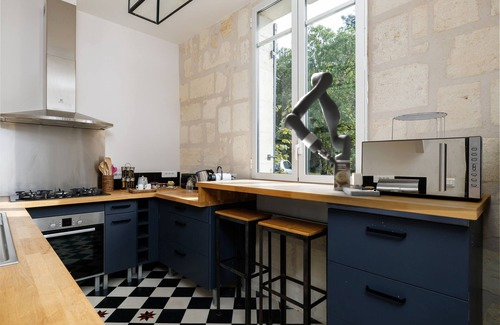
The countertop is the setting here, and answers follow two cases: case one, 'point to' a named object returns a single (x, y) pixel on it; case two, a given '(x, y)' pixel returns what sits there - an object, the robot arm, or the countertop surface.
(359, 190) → the fader console
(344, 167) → the coffee box
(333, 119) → the robot arm
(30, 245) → the countertop surface
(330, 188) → the countertop surface
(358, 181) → the fader knob
